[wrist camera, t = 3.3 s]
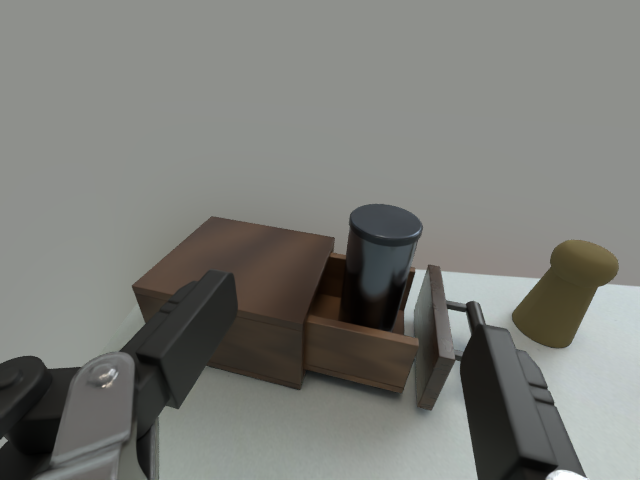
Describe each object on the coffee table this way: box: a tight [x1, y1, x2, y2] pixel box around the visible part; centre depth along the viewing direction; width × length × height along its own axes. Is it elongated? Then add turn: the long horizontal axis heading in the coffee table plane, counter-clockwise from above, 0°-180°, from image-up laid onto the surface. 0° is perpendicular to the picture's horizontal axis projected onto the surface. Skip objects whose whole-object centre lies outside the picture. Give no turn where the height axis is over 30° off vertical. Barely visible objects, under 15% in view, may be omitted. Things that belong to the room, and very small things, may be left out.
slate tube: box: [338, 204, 423, 333], centre depth 27 cm, size 6×6×13 cm
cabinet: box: [132, 217, 335, 390], centre depth 31 cm, size 15×13×9 cm
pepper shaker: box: [512, 240, 619, 348], centre depth 32 cm, size 6×6×11 cm
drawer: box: [303, 253, 486, 411], centre depth 29 cm, size 18×11×7 cm, turn 77°
